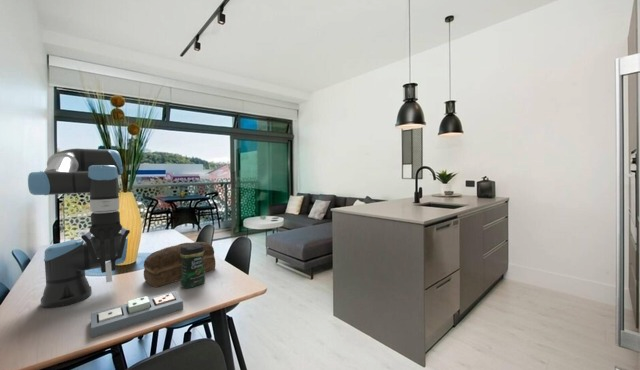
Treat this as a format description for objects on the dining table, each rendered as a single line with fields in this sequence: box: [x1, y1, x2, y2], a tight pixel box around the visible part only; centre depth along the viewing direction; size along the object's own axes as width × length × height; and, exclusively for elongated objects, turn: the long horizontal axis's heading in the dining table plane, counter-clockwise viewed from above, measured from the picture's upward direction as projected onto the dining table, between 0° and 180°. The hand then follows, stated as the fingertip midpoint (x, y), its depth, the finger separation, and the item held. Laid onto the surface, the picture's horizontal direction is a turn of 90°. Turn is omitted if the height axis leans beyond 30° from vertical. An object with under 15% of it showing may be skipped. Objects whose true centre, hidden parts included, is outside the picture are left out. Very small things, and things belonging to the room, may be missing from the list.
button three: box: [153, 293, 175, 306], centre depth 101 cm, size 6×6×3 cm
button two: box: [126, 295, 150, 314], centre depth 95 cm, size 6×6×3 cm
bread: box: [143, 241, 216, 288], centre depth 133 cm, size 15×32×16 cm, turn 142°
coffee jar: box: [180, 243, 206, 289], centre depth 121 cm, size 10×8×19 cm
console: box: [90, 290, 184, 338], centre depth 95 cm, size 26×12×3 cm, turn 131°
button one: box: [99, 307, 122, 322], centre depth 90 cm, size 6×6×3 cm
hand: (109, 280), depth 90 cm, fingers closed
